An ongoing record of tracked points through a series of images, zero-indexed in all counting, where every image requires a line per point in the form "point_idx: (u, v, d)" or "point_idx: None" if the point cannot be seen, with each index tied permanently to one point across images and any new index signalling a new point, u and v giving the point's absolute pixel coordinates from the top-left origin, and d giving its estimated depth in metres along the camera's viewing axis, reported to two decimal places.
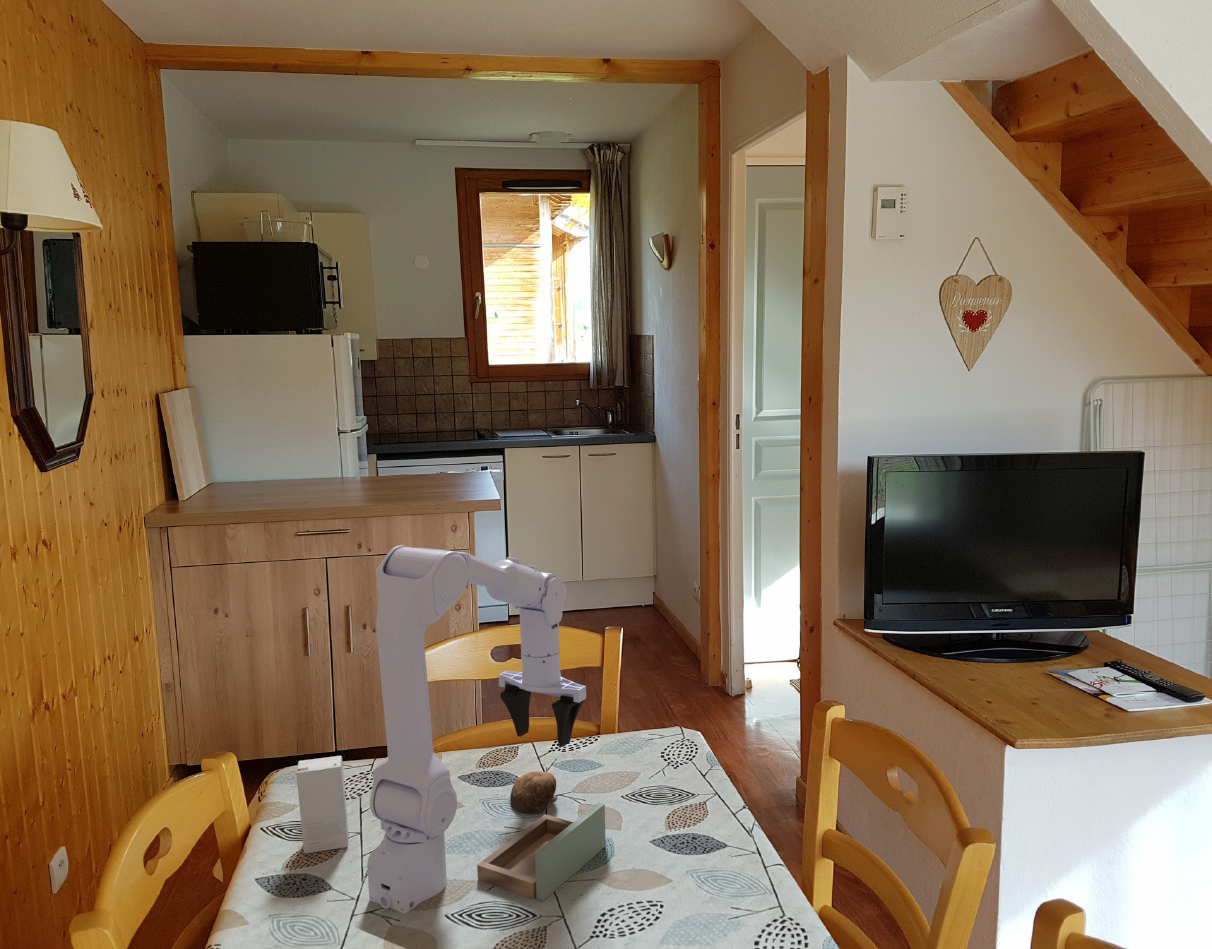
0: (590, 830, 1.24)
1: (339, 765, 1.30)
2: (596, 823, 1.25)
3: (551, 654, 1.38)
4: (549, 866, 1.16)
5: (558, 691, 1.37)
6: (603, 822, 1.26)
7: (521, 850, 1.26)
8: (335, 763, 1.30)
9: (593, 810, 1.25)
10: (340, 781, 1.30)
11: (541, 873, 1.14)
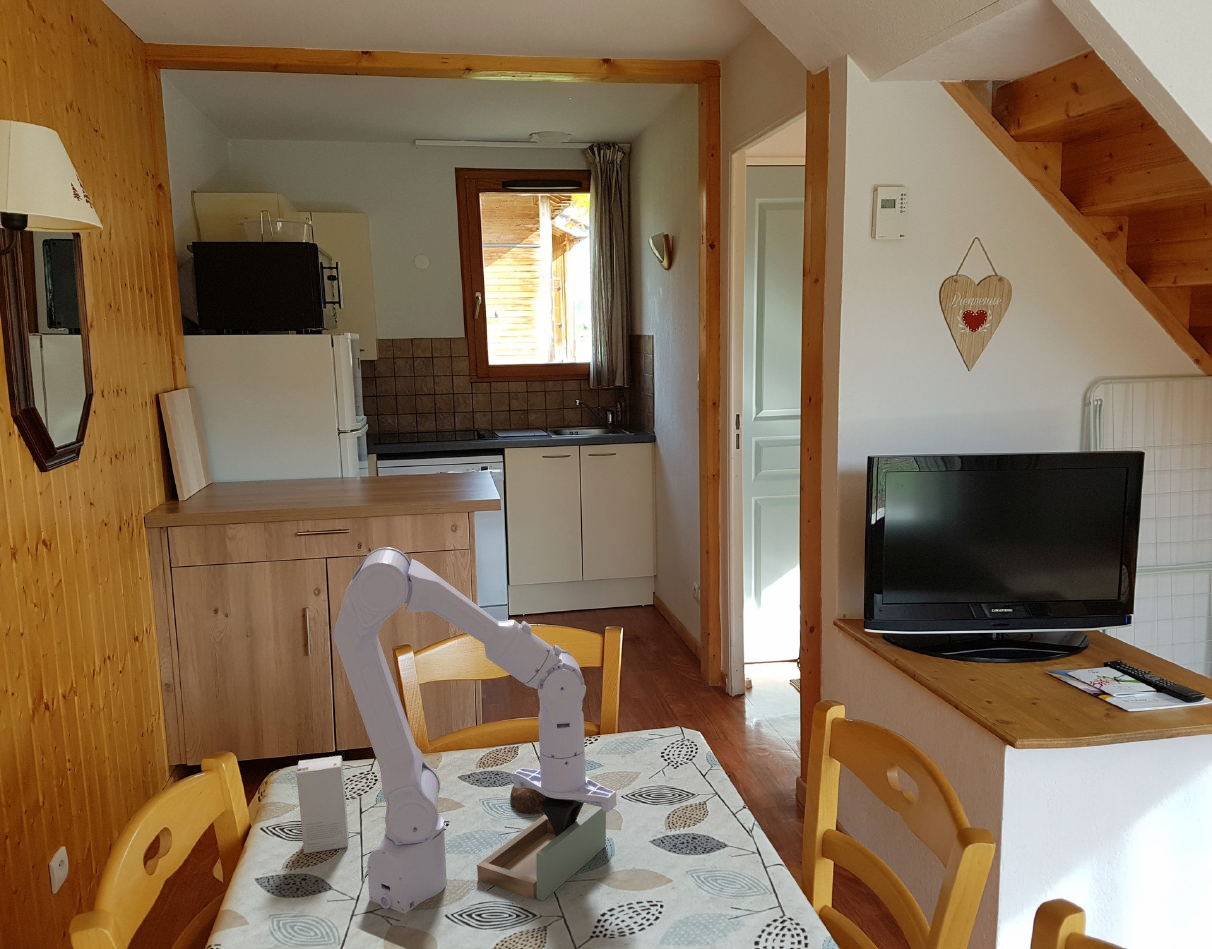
0: (591, 830, 1.24)
1: (339, 765, 1.30)
2: (597, 823, 1.25)
3: (556, 757, 1.17)
4: (550, 866, 1.16)
5: (584, 798, 1.17)
6: (604, 822, 1.26)
7: (521, 850, 1.26)
8: (335, 763, 1.30)
9: (594, 810, 1.25)
10: (340, 781, 1.30)
11: (542, 873, 1.14)
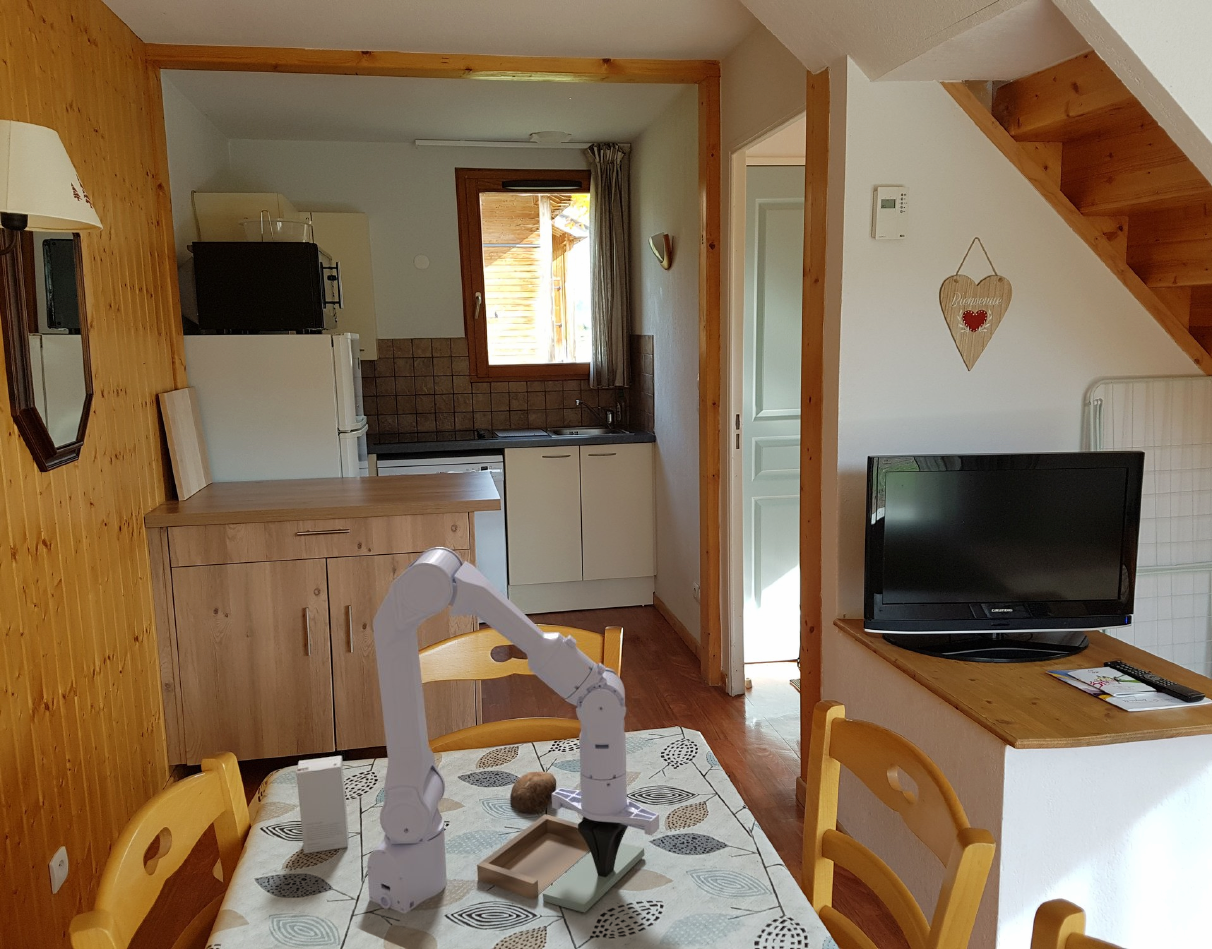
0: None
1: (339, 765, 1.30)
2: None
3: (594, 778, 1.14)
4: None
5: (626, 821, 1.14)
6: None
7: (521, 850, 1.26)
8: (335, 763, 1.30)
9: (636, 860, 1.22)
10: (340, 781, 1.30)
11: (567, 907, 1.13)
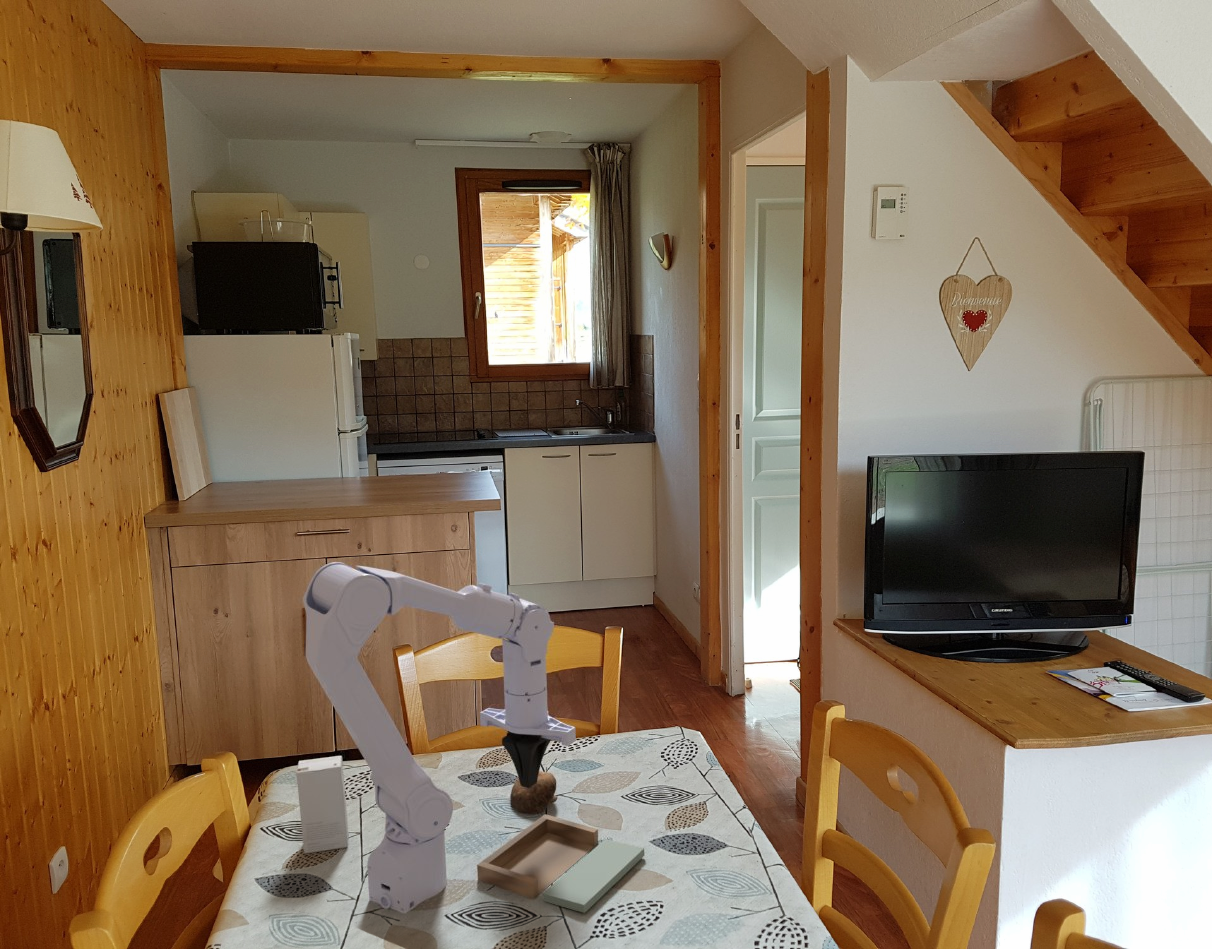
0: None
1: (339, 765, 1.30)
2: None
3: (530, 693, 1.24)
4: None
5: (545, 733, 1.24)
6: None
7: (521, 850, 1.26)
8: (335, 763, 1.30)
9: (636, 860, 1.22)
10: (340, 781, 1.30)
11: (567, 907, 1.13)
